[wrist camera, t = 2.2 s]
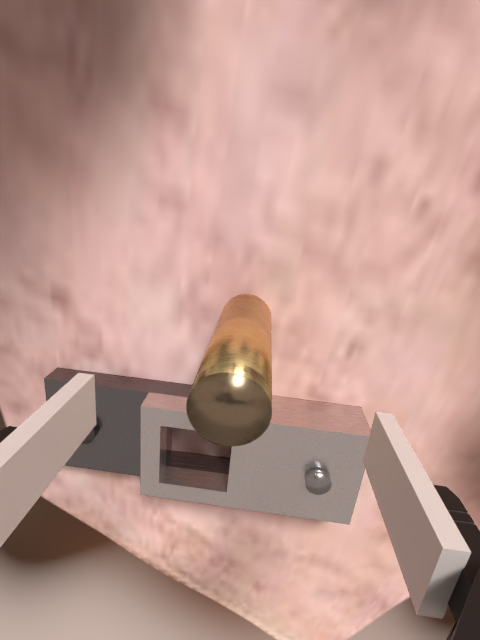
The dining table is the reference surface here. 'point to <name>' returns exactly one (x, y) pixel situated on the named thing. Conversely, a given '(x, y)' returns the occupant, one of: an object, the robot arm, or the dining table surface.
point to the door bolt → (246, 460)
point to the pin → (235, 376)
